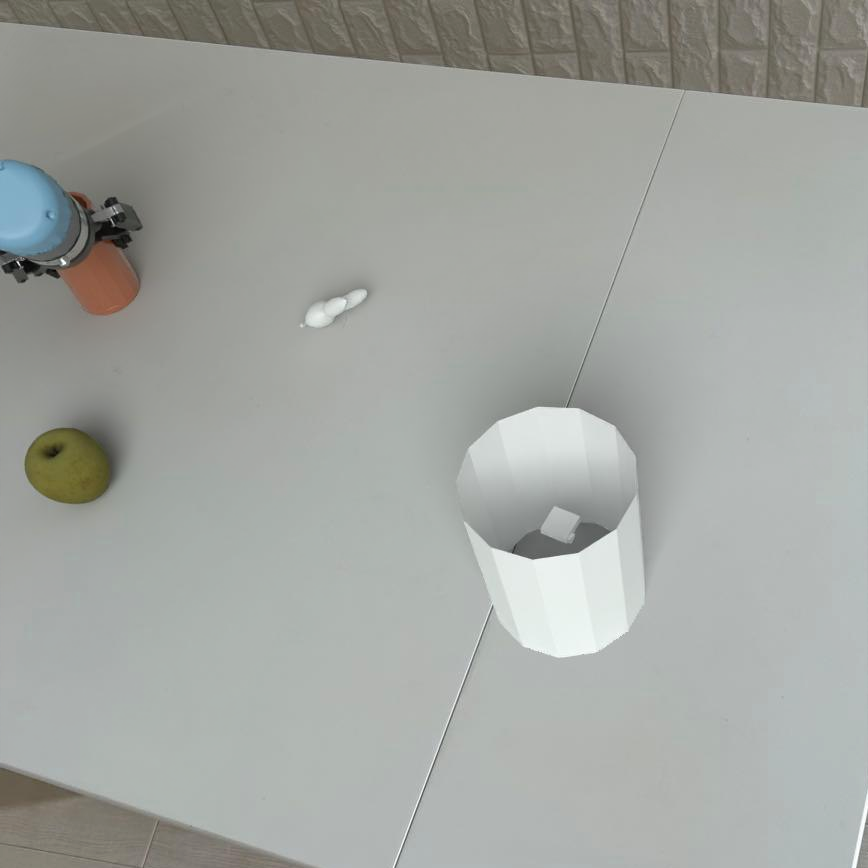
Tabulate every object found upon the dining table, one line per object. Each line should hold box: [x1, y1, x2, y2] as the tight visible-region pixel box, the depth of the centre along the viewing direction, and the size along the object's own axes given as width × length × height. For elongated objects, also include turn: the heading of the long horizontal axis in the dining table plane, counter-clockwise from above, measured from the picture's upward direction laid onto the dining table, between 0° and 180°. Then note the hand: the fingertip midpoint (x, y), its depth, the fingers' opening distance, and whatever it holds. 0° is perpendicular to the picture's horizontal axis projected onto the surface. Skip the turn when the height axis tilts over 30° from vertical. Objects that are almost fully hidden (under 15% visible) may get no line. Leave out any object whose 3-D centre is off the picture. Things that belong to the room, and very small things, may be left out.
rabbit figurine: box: [299, 288, 368, 329], centre depth 117 cm, size 6×4×8 cm
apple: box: [23, 427, 111, 505], centre depth 108 cm, size 8×8×7 cm
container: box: [454, 406, 646, 659], centre depth 90 cm, size 14×14×18 cm
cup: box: [55, 191, 141, 316], centre depth 120 cm, size 7×7×12 cm
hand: (87, 252), depth 124 cm, fingers closed on cup, 7 cm apart
